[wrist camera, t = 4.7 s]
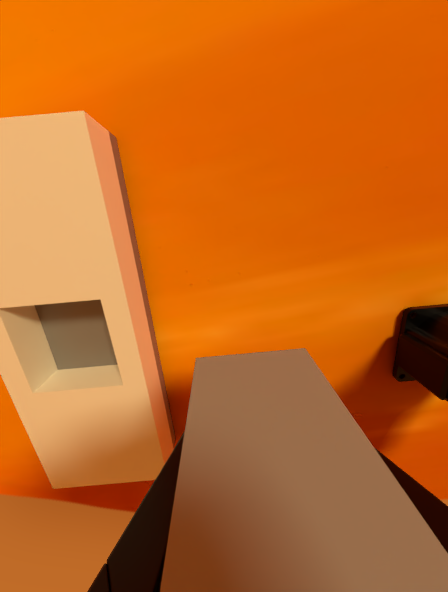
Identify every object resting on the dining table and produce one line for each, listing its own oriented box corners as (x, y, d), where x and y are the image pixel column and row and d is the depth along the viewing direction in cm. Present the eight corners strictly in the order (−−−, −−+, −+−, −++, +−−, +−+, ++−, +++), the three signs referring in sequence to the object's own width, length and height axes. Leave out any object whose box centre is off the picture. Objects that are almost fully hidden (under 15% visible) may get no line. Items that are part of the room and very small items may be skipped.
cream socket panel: (116, 137, 14) (83, 110, 10) (175, 438, 21) (167, 478, 18) (-33, 151, 14) (-113, 128, 10) (78, 447, 21) (53, 488, 18)
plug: (304, 348, 8) (646, 839, 2) (302, 431, 10) (495, 905, 3) (196, 358, 8) (113, 891, 2) (207, 440, 10) (186, 933, 3)
